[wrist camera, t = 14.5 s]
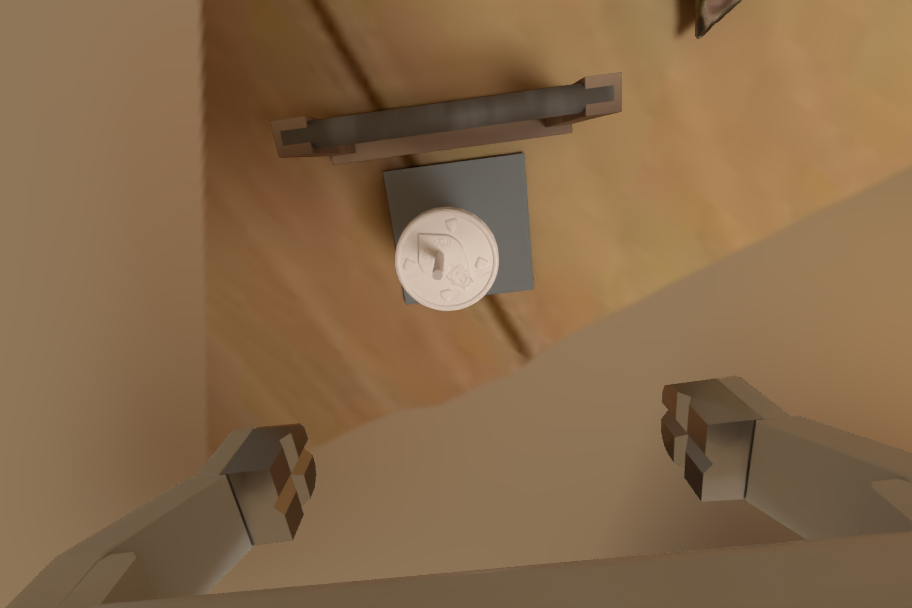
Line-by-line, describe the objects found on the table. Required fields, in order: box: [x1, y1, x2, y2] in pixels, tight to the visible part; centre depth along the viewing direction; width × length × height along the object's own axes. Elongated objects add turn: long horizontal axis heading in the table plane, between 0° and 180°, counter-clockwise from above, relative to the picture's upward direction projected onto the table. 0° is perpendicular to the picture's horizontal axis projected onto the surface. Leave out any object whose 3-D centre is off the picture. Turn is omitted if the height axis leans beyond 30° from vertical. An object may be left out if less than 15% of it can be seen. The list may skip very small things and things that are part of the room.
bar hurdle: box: [270, 72, 622, 165], centre depth 27 cm, size 3×18×12 cm, turn 97°
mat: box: [383, 153, 534, 304], centre depth 35 cm, size 11×11×1 cm
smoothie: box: [395, 207, 499, 311], centre depth 28 cm, size 6×6×14 cm
